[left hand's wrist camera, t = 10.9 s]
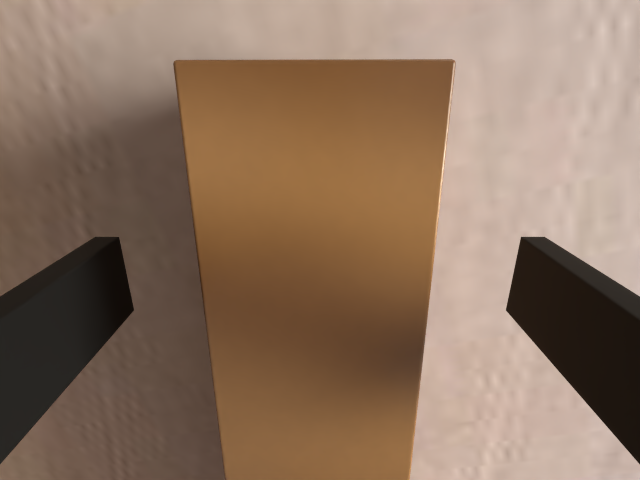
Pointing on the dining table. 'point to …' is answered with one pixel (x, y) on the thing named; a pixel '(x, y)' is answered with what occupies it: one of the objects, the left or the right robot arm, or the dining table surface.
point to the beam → (315, 255)
